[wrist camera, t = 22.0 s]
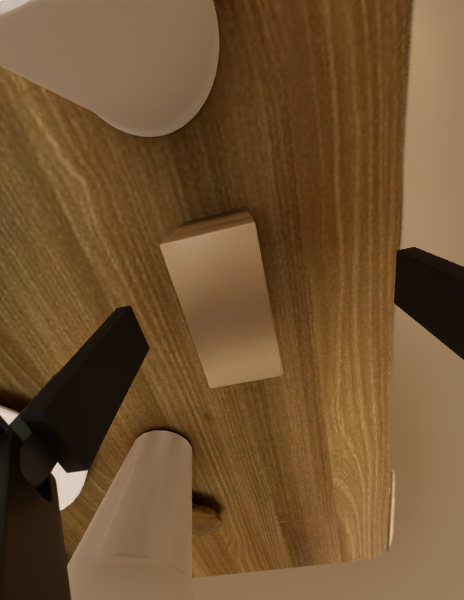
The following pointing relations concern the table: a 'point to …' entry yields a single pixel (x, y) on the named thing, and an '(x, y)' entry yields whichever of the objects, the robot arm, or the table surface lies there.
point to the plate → (56, 471)
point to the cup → (141, 528)
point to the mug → (117, 56)
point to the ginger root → (204, 520)
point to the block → (224, 297)
